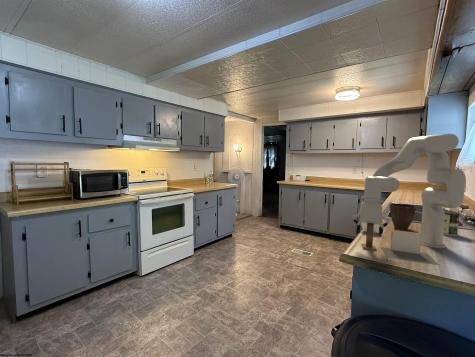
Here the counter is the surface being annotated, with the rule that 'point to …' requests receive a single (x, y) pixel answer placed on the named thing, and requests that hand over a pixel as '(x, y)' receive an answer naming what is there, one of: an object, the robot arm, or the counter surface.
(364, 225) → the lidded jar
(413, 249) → the tile
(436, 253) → the counter surface
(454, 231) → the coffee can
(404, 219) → the plant pot
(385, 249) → the mat
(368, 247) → the wooden pedestal stand
